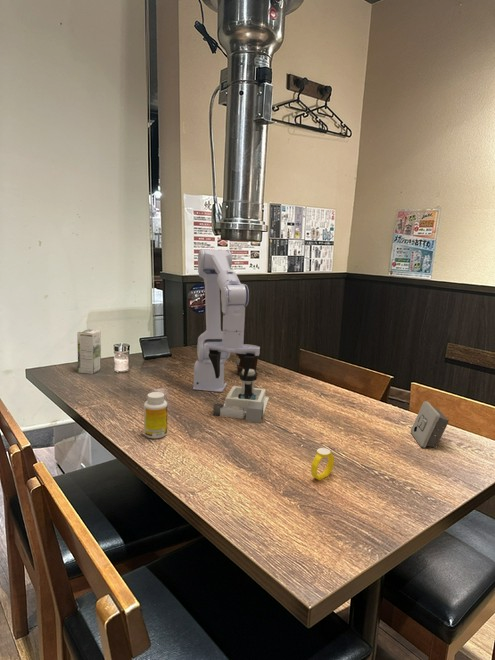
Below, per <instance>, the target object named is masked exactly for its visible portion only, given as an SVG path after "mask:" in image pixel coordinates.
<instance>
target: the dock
mask: <svg viewBox="0 0 495 660" xmlns="http://www.w3.org/2000/svg"><path fill="white" fill-rule="evenodd" d="M241 391H242V386H237V385H233V386H232V388H231V389H230V391H229V392H228V393H227V395H226V397H225V400H224V401H225V402H224V404H223V405H225V406H234V407H244V408H245V414H244V415H245V422H249V423H256V424H257V423H258V424H261V423H262V418H263V416H264V414H265V411H266V408H267V405H268V402H269V399H270V398H269V396H266V389H265V388H260V387H259V388H255V387H254V393H253V394H255V395H256V397H257V396H259V398H256V399H258V400H249V399H239V398H238V395H239V394H241Z"/></svg>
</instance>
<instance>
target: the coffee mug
mask: <svg viewBox="0 0 495 660" xmlns="http://www.w3.org/2000/svg"><path fill="white" fill-rule="evenodd" d="M243 345H248V346H254V347H259V346H258V345H256V344H255V345H254V344H248V343H247V344H246V343H245V344H244V343H243ZM235 355H236V367H237V368H236V371H237V375H238V376H239V377H240V375H239V373H240V372H242V370H243V369H244V357H245V355H246V354H239V353H235ZM258 360H259V356H255V358H254V359H253V361H252V364H251V366H250V369H253V370H254V371H255V372H256V373H257V367H258Z"/></svg>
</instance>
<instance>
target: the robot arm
mask: <svg viewBox="0 0 495 660" xmlns="http://www.w3.org/2000/svg"><path fill="white" fill-rule="evenodd" d="M232 264H233V254H232V252H231V250H230V249H226V250H225V249H224V250H223V249H205V248H201V249H199V251H198V255H197V273H198V277H200V278H201V279H203V282H204V283H203V284H204V297H205V298H204V299H205V301H204V302H205V303H204V304H205V326H206V327H205V330H204V332H202V333H201V334H200V335H199V336H198V337H197V345H196V354H197V358H198V359H196V360H195V363H194V367H193V386H192V387H193V388H192V389H193V390H196V391H206V392H217V393H222V392H223V391H224V390H225V388H226V386H227V385H228V383H227V382H225V363H226V362H227V360H229V358H230V357H231V354H236V353H239V354H246V355H245V357H244V377H243V381H246V380H247V376H248V372H249V369H250V366H251V364H252V361H253V359H254V358H255V356H258V357H259V356H260V354H261V352H260V349H261V346H258V347H254V346H248V345H249V344H248V345H243V344H244V340H245V339H244V338H245V321H246V319H245V318H246V307H248V305H249V301H250V292H249V287H248V285H247V284H245V283H241V281H240V279H239V277H238V275H237V273H236V272H235V271H234V270H232V269H231V268H232ZM220 291H221V292H220ZM221 312H222V315H223V316H222V318H221ZM221 319H222V323H221ZM221 327H222V329H221Z"/></svg>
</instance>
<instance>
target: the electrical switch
mask: <svg viewBox="0 0 495 660" xmlns="http://www.w3.org/2000/svg"><path fill="white" fill-rule="evenodd" d="M449 422H450V420H449V419H448V418H447V416H445V415H444V413H443V412H442V411H440V409H439V408H437V407H434V406H433V405H432V404H431V403H430V402H429V401H426V400H425V401H423V402H422V404H421V406H420V408H419V411H418V413H417V415H416V417H415V419H414V422H413V424H412V425H411V428H410V434H411V435H412V436H413V438H414V439H415V441H416V443H418V444H419V446H420V447H421V448H423V449H425V448H426V447H431V448H433V449H437V447H438V445H439V443H440V442H441V441H440V440H441V438H442V437H443V435H444V432H445V430H446V428H447V427H448V425H449Z"/></svg>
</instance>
